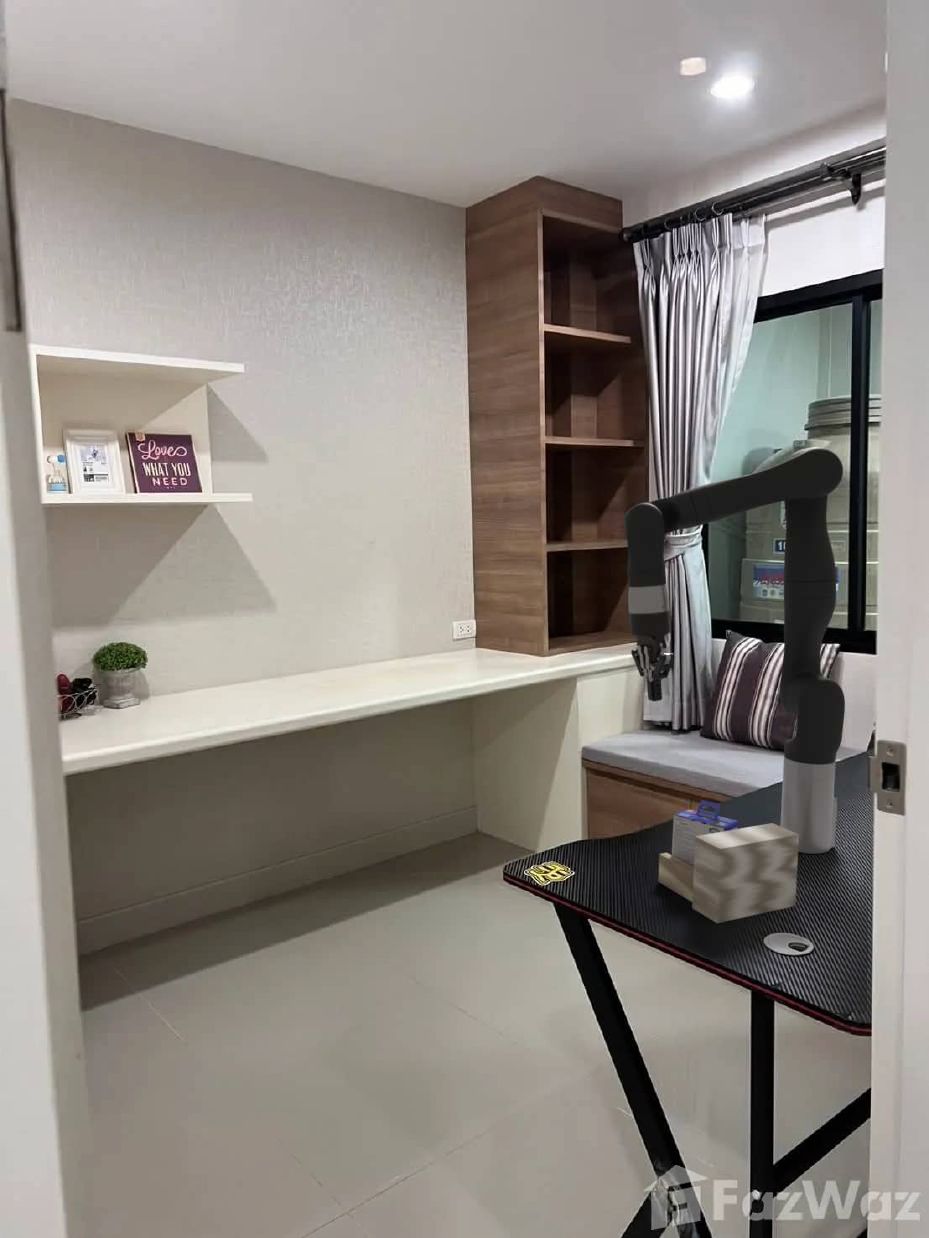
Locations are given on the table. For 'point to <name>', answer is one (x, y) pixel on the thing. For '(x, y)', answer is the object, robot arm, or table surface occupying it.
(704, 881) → the cartridge dock
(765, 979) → the table surface
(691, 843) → the ink cartridge box
